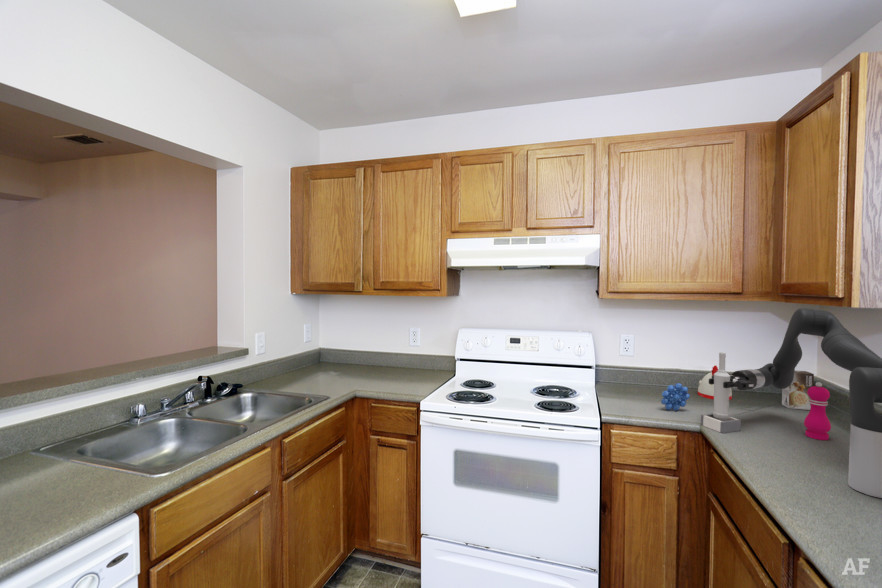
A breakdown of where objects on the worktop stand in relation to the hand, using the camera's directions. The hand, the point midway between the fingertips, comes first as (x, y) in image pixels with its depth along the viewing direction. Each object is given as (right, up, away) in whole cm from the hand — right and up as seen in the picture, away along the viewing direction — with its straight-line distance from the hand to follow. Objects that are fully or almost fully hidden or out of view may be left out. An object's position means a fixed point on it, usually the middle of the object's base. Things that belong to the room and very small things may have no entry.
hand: (716, 383), depth 155 cm
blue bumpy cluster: (-3, -17, +23) cm, 28 cm away
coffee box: (+54, -17, +27) cm, 63 cm away
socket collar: (+2, -17, +1) cm, 18 cm away
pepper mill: (+31, -18, -7) cm, 37 cm away
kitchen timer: (+29, -16, +44) cm, 55 cm away
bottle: (+3, -14, +1) cm, 14 cm away
